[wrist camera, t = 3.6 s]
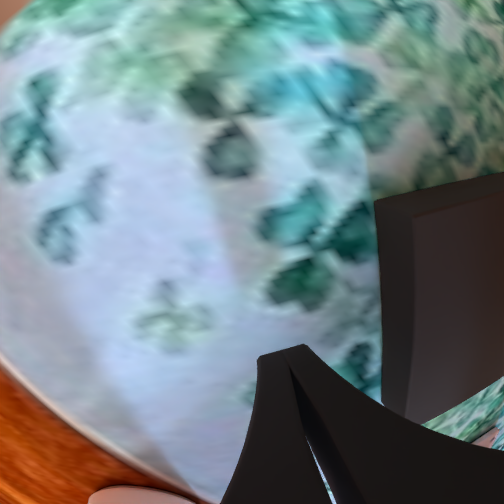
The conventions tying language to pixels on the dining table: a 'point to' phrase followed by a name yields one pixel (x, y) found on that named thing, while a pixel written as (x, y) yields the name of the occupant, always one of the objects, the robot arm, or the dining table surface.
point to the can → (136, 496)
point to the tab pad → (441, 294)
